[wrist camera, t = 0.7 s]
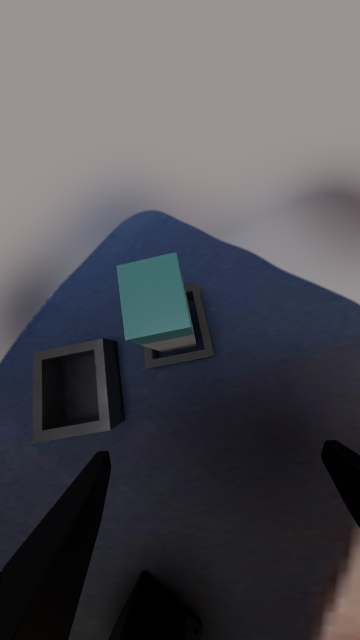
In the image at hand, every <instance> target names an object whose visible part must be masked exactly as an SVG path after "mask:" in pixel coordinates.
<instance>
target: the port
mask: <svg viewBox="0 0 360 640" xmlns="http://www.w3.org/2000/svg"><path fill="white" fill-rule="evenodd" d="M124 420H125V419H124V409H123V400H122V390H121V380H120V371H119V361H118V352H117V342H115V341H111V340H107V339H104V338H101V339H96V340H91V341H86V342H81V343H77V344H72V345H67V346H62V347H57V348H52V349H48V350H43V351H38V352H33V443H38V442H44V441H50V440H56V439H62V438H67V437H73V436H79V435H85V434H90V433H96V432H102V431H108V430H111V429H113V428H114V427H115V426H117V425H118V424H120V423H121V422H123V421H124Z"/></svg>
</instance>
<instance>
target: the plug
mask: <svg viewBox="0 0 360 640" xmlns="http://www.w3.org/2000/svg"><path fill="white" fill-rule="evenodd" d="M117 273H118V282H119V290H120V299H121V308H122V316H123V325H124V334H125V340H126V341H129V342H132V343H135V344H138V345H142V346H145V347H148V348H151V349H154V350H157V351H160V352H163V353H165V352H170V351H175V350H180V349H185V348H190V347H195V346H197V344H196V339H195V334H194V329H193V325H192V320H191V315H190V310H189V305H188V301H187V297H186V293H185V288H184V284H183V280H182V276H181V271H180V267H179V263H178V259H177V254H176V252H175V253H170V254H166V255H162V256H158V257H153V258H149V259H145V260H140V261H136V262H132V263H127V264H123V265H119V266H117Z"/></svg>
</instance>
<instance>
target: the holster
mask: <svg viewBox="0 0 360 640" xmlns="http://www.w3.org/2000/svg"><path fill="white" fill-rule="evenodd" d="M184 288H185V293H186V297H187V301H189V300H194V304H195V309H196V314H197V318H198V323H199V328H200V332H201V337H202V342H203V346H204V349H203V350H198V351H193V352H188V353H183V354H178V355H173V356H168V357H162V358H158V352H157V350H154V349H151V348H148V347H145V346H143V349H144V357H145V364H146V369H149V368H157V367H162V366H168V365H173V364H178V363H183V362H188V361H194V360H199V359H204V358H209V357H213V356H214V352H213V347H212V343H211V338H210V334H209V329H208V325H207V321H206V316H205V312H204V307H203V303H202V298H201V294H200V289H199V285H198V283H193V284H189V285H184Z"/></svg>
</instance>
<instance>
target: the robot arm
mask: <svg viewBox="0 0 360 640" xmlns="http://www.w3.org/2000/svg"><path fill="white" fill-rule="evenodd" d="M321 458H322V461H323V463H324V465H325V467H326V469H327V470H328V472H329V474H330V476H331V478H332V480H333V482H334V484H335V486H336V488H337V490H338V491H339V493H340V495H341V497H342V499H343V501H344V503H345V504H346V506H347V508H348V510H349V511H350V513H351V515H352V516H353V518H354V520H355V521H356V523H357V524H358V526H359V528H360V455H359V454H357V453H355V452H354V451H352V450H351V449H349V448H348V447H346V446H345V445H343V444H342V443H340V442H338V441H336V440H327V441H325V443H324V446H323V450H322V453H321ZM110 472H111V462H110V456H109V452H108V451H99V452H97V453H96V454H95V455H94V457H93V458H92V459H91V460H90V461H89V463H88V464H87V465H86V466H85V468H84V469H83V470H82V471H81V473H80V474H79V475H78V476H77V477H76V479H75V480H74V481H73V482H72V484H71V485H70V486H69V487H68V488H67V490H66V491H65V492H64V493H63V495H62V496H61V497H60V498H59V500H58V501H57V502H56V503H55V504H54V506H53V507H52V508H51V509H50V511H49V512H48V513H47V514H46V516H45V517H44V518H43V519H42V520H41V522H40V523H39V524H38V525H37V527H36V528H35V529H34V530H33V531H32V533H31V534H30V535H29V536H28V538H27V539H26V540H25V541H24V543H23V544H22V545H21V546H20V547H19V549H18V550H17V551H16V552H15V554H14V555H13V556H12V557H11V558H10V560H9V561H8V562H7V563H6V565H5V566H4V567H3V569H2V572H0V640H68V638H69V635H70V631H71V628H72V624H73V620H74V617H75V613H76V610H77V606H78V603H79V599H80V595H81V592H82V588H83V585H84V581H85V578H86V574H87V570H88V567H89V563H90V560H91V556H92V552H93V549H94V545H95V542H96V538H97V535H98V531H99V527H100V523H101V519H102V514H103V509H104V504H105V498H106V493H107V488H108V483H109V477H110ZM143 580H145V581H146V582H143ZM195 626H196V627H198V628H195ZM201 633H202V623H201V620H200V619H199V618H198V617H197V616H196V615H195V614H193V613H192V612H191V611H190V610H189V609H188V608H187V607H186V606H184V605H183V604H182V603H181V602H180V601H179V600H178V599H176V598H175V597H174V596H173V595H172V594H171V593H170V592H168V591H167V590H166V589H165V588H164V587H163V586H162V585H160V584H159V583H158V582H157V581H156V580H155V579H154V578H152V577H151V576H150V575H149V574H148V573H146V572H143V573H141V575H140V577H139V579H138V581H137V583H136V585H135V587H134V589H133V591H132V593H131V595H130V597H129V599H128V601H127V603H126V605H125V607H124V609H123V611H122V613H121V615H120V617H119V619H118V621H117V623H116V625H115V627H114V629H113V631H112V633H111V635H110V637H109V640H199V639H200V636H201Z"/></svg>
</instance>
